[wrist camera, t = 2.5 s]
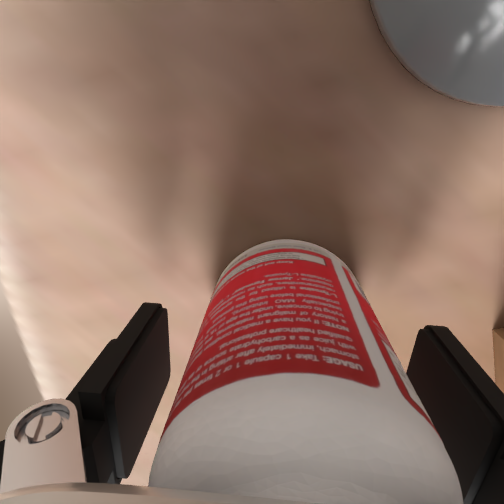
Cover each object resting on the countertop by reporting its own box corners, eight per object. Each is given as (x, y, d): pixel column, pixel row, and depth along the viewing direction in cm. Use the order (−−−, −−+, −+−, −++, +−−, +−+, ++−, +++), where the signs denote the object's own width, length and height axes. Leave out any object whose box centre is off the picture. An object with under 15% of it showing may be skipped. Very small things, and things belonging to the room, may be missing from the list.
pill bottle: (189, 314, 14) (-25, 781, 4) (269, 204, 12) (236, 596, 2) (299, 381, 15) (348, 896, 5) (391, 290, 13) (781, 849, 3)
